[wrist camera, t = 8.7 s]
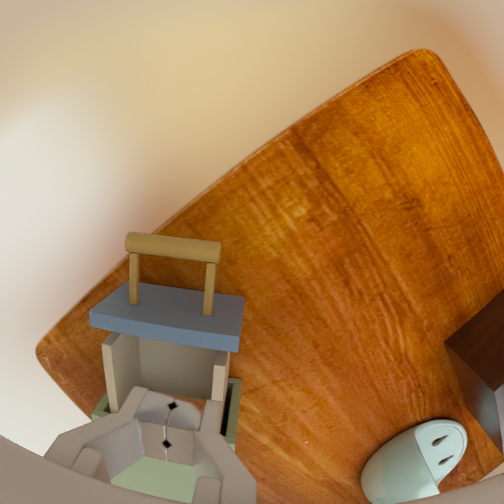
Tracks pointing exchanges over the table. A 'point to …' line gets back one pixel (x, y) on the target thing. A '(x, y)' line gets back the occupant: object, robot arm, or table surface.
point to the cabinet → (169, 473)
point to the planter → (413, 462)
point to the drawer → (168, 327)
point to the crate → (482, 367)
